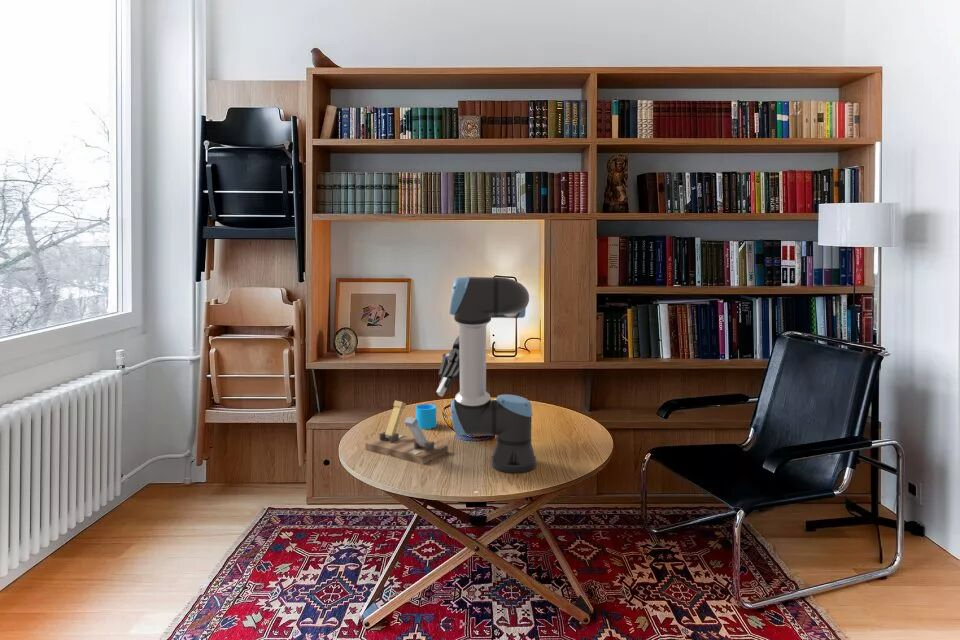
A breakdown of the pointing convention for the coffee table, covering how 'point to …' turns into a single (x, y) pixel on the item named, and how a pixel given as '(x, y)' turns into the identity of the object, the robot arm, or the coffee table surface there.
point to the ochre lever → (395, 418)
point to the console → (406, 448)
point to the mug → (426, 416)
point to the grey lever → (416, 431)
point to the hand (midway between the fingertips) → (439, 394)
